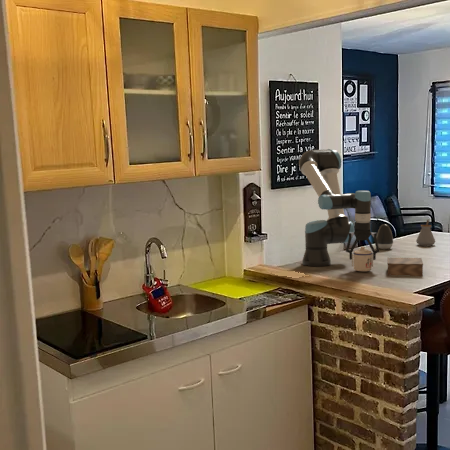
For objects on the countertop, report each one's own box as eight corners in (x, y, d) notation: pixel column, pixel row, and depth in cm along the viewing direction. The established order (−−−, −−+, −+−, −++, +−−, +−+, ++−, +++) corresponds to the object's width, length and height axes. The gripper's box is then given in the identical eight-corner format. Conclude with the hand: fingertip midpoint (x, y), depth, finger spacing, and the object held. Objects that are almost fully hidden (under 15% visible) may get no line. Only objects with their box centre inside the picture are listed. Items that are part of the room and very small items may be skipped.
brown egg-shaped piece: (395, 247, 363) (395, 223, 362) (390, 250, 355) (390, 225, 353) (379, 246, 369) (379, 222, 367) (373, 249, 360) (373, 224, 358)
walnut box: (387, 276, 283) (387, 263, 283) (387, 269, 299) (387, 257, 298) (423, 276, 279) (423, 264, 278) (421, 270, 294) (421, 258, 294)
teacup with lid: (369, 272, 288) (369, 248, 286) (351, 270, 292) (351, 247, 291) (375, 267, 298) (375, 244, 297) (357, 266, 303) (358, 243, 301)
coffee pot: (434, 247, 362) (434, 223, 360) (415, 246, 367) (415, 222, 365) (437, 242, 381) (437, 219, 380) (418, 241, 386) (419, 219, 384)
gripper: (340, 222, 291) (340, 267, 294) (385, 222, 286) (385, 268, 289) (340, 220, 298) (340, 264, 301) (384, 220, 293) (384, 264, 296)
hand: (362, 266), depth 295 cm, fingers closed on teacup with lid, 9 cm apart
